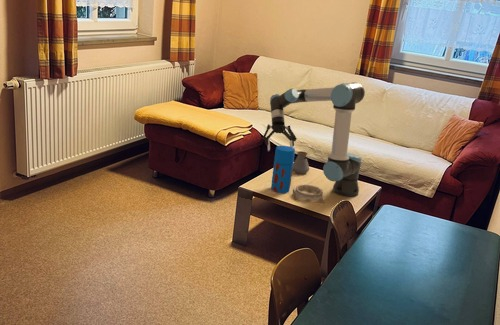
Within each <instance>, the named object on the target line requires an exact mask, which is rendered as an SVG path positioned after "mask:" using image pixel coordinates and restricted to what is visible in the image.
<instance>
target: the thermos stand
mask: <svg viewBox="0 0 500 325" xmlns="http://www.w3.org/2000/svg"><path fill="white" fill-rule="evenodd" d="M293 193H294V200H295V201H301V202H312V203H318V204H319V203H322V204H324V203H325V199H324V196H323V194H324V191H323V189H321V188H320V187H319V186H316V185H313V184H299V185H297V186H296V187H294V188H293Z"/></svg>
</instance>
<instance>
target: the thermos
mask: <svg viewBox="0 0 500 325" xmlns="http://www.w3.org/2000/svg"><path fill="white" fill-rule="evenodd" d="M295 149H296V148H294V147H293V148H292V147H290V145H289V146H288V145H278V146H276V148H275V154H274V160H273V169H272V177H271V186H270V188H271V191H272V192H275V193H278V194H286V193H287V194H288V193H289V192H290V190H291V182H292V176H293V163H294V161H295V155H296V153H295V152H296V150H295Z"/></svg>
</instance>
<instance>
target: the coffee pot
mask: <svg viewBox="0 0 500 325" xmlns="http://www.w3.org/2000/svg"><path fill="white" fill-rule="evenodd" d="M296 154H297V156H296V158H295V159H294V162H293V169H292V172H294V173H296V174H299V175H303V174H306V173H308V172H309V170H310V166H309V162H308V161H309V157H308V156H307V155H308V152H305V151H297V152H296Z"/></svg>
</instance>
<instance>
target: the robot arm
mask: <svg viewBox="0 0 500 325" xmlns="http://www.w3.org/2000/svg"><path fill="white" fill-rule="evenodd" d="M365 93H366V92H365V88H364V86H363V85H362V84H361V83H358V82H347V83H344V82H343V83H339V84H337V85H335V86H333V87H321V88H308V89H303V88H302V89H295V88H289V89H287V90H286V91H284V92H283V93H281V94H279V93H277V94H272V95H271V97H270V99H269V101H270V102H269V105H270V116H271V125H270V124H267V126H266V130H265V132H264V134H263V136H262V140H264V141H265V146H267V152H270V150H271V142H270V138H271V137H272V136H273V135H274V134H275V133H276V134H282V135H284V136H285V137H286V138H287V139H288V140H289V147H292V148H294V146H295V142H296V140H297V137H296V135H295V134H294V132H293V130H292V128H291V125H287V126H286V125H285V124H286V122H285V115H284V114H285V113H284V108H286V107H287V106H289V105H291V104H298V103H299V104H300V103H310V102H328V101H330V102H331V103H332V104H333V105H332V106H333V109H334V111H335V115H334V124H333V135H332V142H331V153H329V154H328V156H327V161H326V163H324V165H323V166H322V169H323V170H322V171H323V175H324V177H325V178H326V179H328V181H330V182H334V183H333V185H332V191H333V193H335V194H338V195H341V196H343V197H344V196H345V197H356V196H358V195H359V192H360V188H359V187H360V186H359V181H358V180H359V175H360V170H361V164H362V158H361V156H359V155H357V154H355V153H351V152H348V149H349V148H348V146H349V138H350V130H351V120H352V113H353V112H355V110H356V104H358V103H360V102H361V101H363V99H364V97H365V96H366V94H365ZM271 129H272V131H271V132H270V133H269V134H268V132H269V131H270V130H271Z"/></svg>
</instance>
